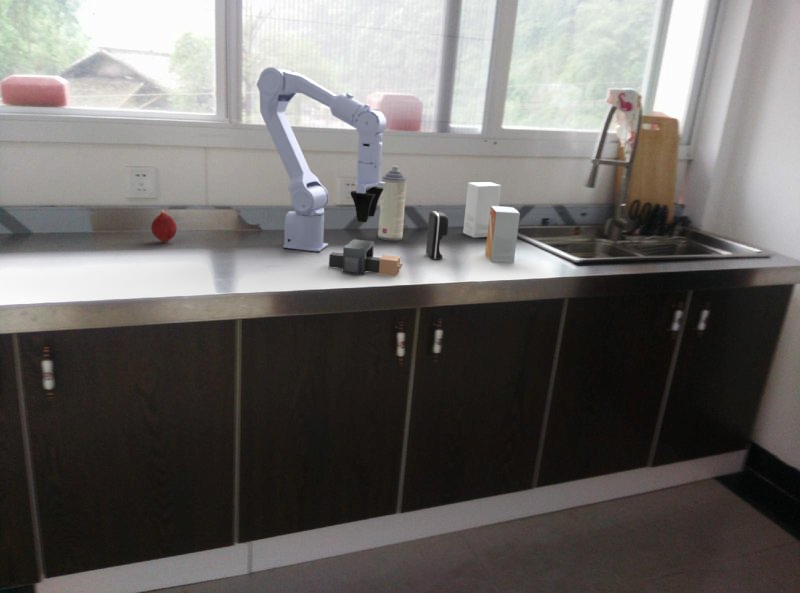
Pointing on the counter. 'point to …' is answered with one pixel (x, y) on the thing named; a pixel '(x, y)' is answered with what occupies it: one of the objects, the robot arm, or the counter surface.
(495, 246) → the small box
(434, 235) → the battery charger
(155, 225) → the onion
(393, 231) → the aerosol can
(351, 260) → the housing
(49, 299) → the counter surface
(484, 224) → the skincare box
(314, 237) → the robot arm
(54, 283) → the counter surface
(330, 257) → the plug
